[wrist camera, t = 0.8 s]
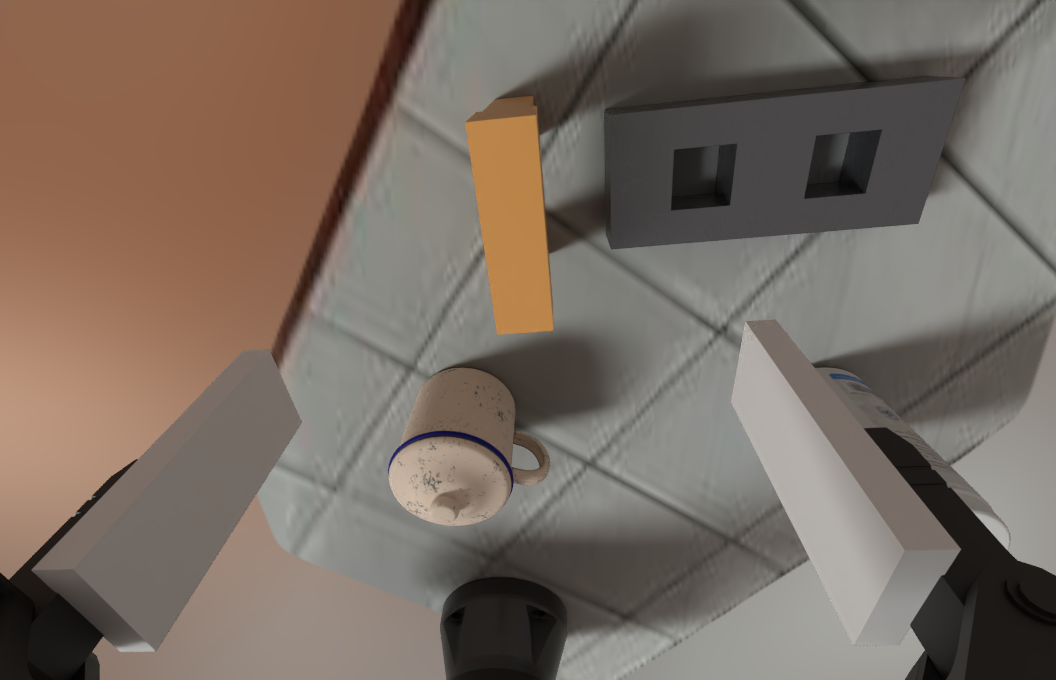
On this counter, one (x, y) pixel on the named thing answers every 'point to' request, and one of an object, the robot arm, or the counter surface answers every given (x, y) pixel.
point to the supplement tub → (879, 414)
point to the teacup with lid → (461, 450)
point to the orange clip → (512, 213)
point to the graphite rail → (777, 161)
